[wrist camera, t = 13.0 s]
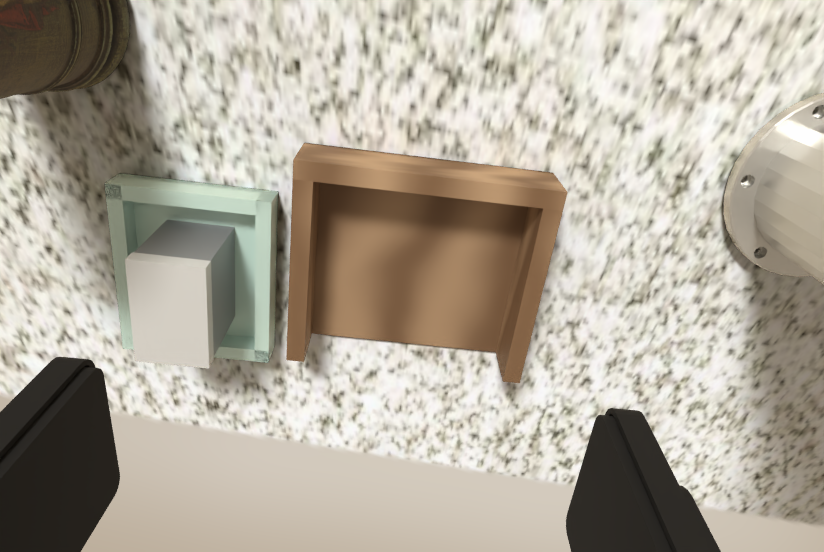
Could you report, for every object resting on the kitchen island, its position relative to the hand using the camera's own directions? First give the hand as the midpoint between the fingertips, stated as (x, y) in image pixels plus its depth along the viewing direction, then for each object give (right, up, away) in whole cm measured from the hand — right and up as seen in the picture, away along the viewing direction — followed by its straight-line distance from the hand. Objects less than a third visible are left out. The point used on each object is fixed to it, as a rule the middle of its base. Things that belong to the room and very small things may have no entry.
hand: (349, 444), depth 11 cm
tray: (-14, +4, +31) cm, 34 cm away
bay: (+1, +4, +31) cm, 31 cm away
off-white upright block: (-14, +4, +30) cm, 33 cm away
